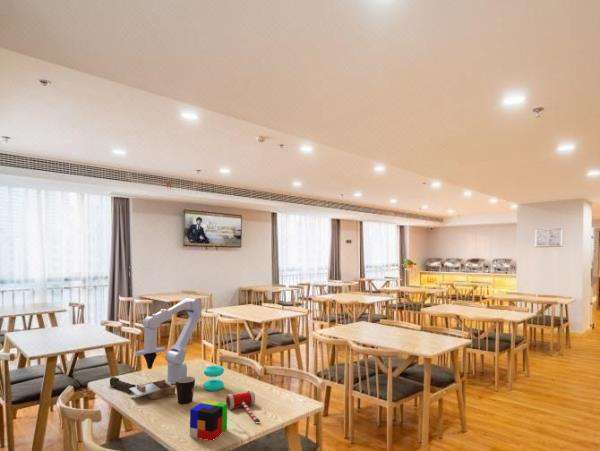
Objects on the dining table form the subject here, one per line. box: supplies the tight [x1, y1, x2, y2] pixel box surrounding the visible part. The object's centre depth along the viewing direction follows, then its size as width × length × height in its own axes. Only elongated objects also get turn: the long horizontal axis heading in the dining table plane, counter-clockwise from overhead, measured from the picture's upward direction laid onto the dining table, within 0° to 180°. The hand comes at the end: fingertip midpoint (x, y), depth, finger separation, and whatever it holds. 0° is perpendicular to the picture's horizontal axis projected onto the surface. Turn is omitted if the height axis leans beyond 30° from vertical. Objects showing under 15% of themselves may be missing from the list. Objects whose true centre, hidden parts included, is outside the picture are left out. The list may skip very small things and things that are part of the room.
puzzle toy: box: [189, 399, 228, 441], centre depth 154 cm, size 10×10×10 cm
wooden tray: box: [143, 379, 177, 401], centre depth 194 cm, size 11×13×4 cm
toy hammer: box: [225, 389, 261, 423], centre depth 172 cm, size 23×12×6 cm, turn 29°
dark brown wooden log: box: [109, 376, 137, 394], centre depth 201 cm, size 19×4×5 cm, turn 54°
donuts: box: [203, 365, 225, 392], centre depth 202 cm, size 10×10×10 cm
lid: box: [129, 382, 161, 397], centre depth 190 cm, size 11×11×3 cm
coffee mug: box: [175, 375, 196, 405], centre depth 183 cm, size 12×9×10 cm
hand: (149, 368), depth 201 cm, fingers closed
